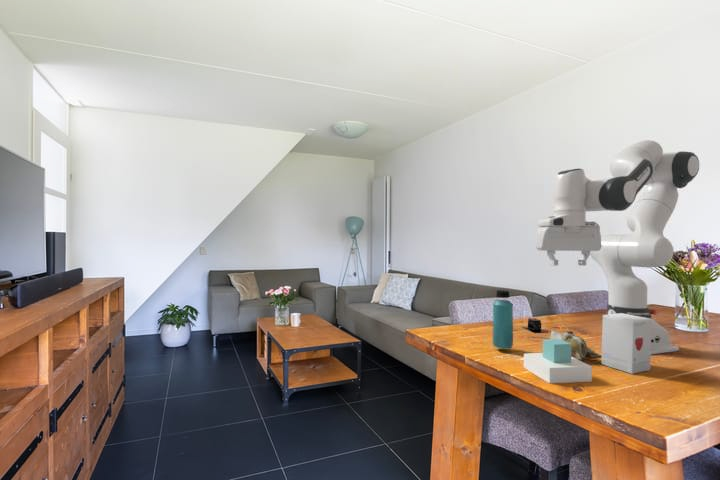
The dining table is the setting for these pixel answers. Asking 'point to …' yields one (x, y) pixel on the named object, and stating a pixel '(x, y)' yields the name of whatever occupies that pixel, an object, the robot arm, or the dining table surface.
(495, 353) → the dining table surface
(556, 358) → the cube
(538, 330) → the black boxy piece
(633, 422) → the dining table surface
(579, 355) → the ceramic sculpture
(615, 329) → the supplement box
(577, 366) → the stand
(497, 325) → the beverage bottle
